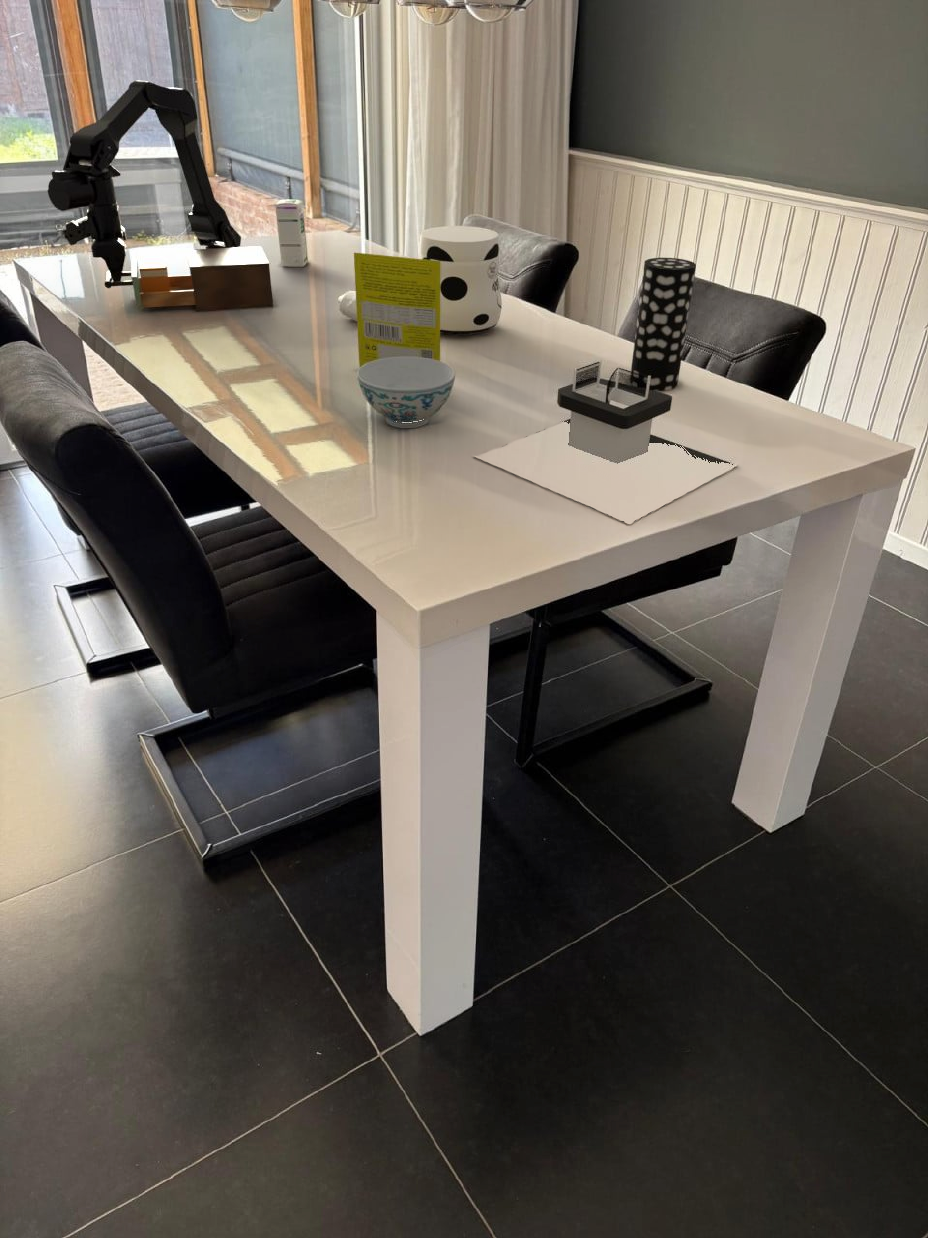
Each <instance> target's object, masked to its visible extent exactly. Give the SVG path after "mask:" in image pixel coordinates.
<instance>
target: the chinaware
mask: <svg viewBox="0 0 928 1238" xmlns="http://www.w3.org/2000/svg"><path fill="white" fill-rule="evenodd" d="M359 367H360V366H359ZM356 377H357V380H358V385H359V387H360V390H361V392H362V395H363V396H364V399H365V400H366V402H367V403H368V404H369V406H370V407H371V408H372V409H373V410H374V411H375V412H376V413H378V414H379V415H381V416H382V417H384V418H385V422H386V423H387V425H389V426H392V427H394V428H395V427H396V428H400V429H413V428H419V427H422V426H424V425H426V424H427V423H428V422H429V418H430V417H432V416H433V415H435V414H436V413H437V412H438V411H439V410H440V409H442V407H443V406H444V405H445V404H446V402H447V401H448V399H449V397H450V395H451V392H452V390H453V387H454V384H455V379H456V371H455V369H454V368H453V367H452V366H451V365H449V364H448V363H446V362H443V361H442V360H440V361H438V360H434V359H429V358H422V357H390V358H383V359H378V360H374V361H371V362H369V363H366V364H364V365H363V366H361V367H360V368H358V369H357V372H356ZM423 419H424V420H423ZM419 420H422V421H419ZM396 421H397V422H396ZM413 421H418V422H413ZM402 422H412V423H402Z"/></svg>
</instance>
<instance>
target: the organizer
mask: <svg viewBox="0 0 928 1238" xmlns="http://www.w3.org/2000/svg"><path fill="white" fill-rule="evenodd" d="M186 254H187V261H188V268H189V275H191V276H192V283H193V290H194V296H195V303H196V305H195V310H196V312H209V311H210V312H211V311H225V310H227V311H228V310H244V309H261V308H273V307H274V301H273V300H274V299H273V288H272V279H271V270H270V263H269V260H268V258H267V256H266V254H265V252H264V250H263V248H262V246H243V247H241V246H239V247H237V248H216V249H206V248H197V249H186Z"/></svg>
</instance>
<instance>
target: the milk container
mask: <svg viewBox="0 0 928 1238" xmlns="http://www.w3.org/2000/svg"><path fill="white" fill-rule="evenodd" d="M418 246H419V247H418V248H419V255H418V259H424V260H434V261H440V334H446V335H447V334H448V335H454V336H455V335H472V334H473V335H474V334H479V333H483V332H487V331H490V330H491V329H493V328H494V327H496V325H497V324H498V323H499V321H500V318H501V315H502V307H503V305H502V304H503V302H502V300H503V299H502V293H501V291H500V286H499V285H500V284H499V267H500V255H499V254H500V236H499V233H498V232H496V231H495V230H493V229H489V228H485V227H479V226H469V225H446V226H444V225H443V226H436V227H430V228H426V229H424V230H422V231H421V233H420V235H419V245H418Z"/></svg>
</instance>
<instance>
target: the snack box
mask: <svg viewBox="0 0 928 1238" xmlns="http://www.w3.org/2000/svg"><path fill="white" fill-rule="evenodd" d="M138 269H139V274H140V277H141V282H142V288H143V293H150V292H168V291H170V285H169V278H168V276H169V272H168V266H167V263H155V264H154V263H153V264H138Z"/></svg>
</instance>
